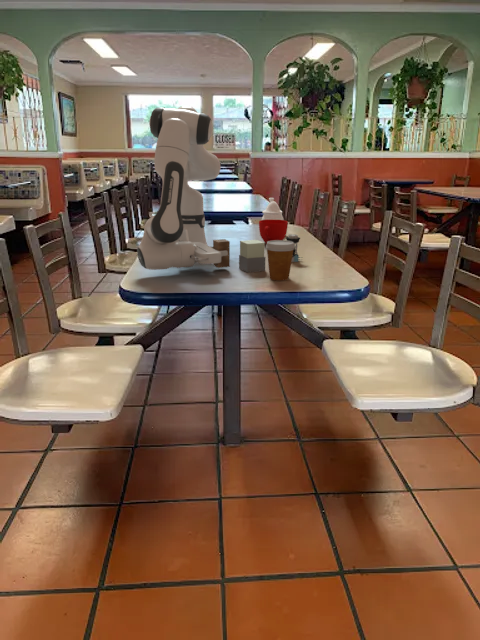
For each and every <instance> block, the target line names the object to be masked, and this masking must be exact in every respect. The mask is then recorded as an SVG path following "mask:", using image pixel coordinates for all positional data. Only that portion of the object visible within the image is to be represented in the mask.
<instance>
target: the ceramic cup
mask: <svg viewBox="0 0 480 640" xmlns="http://www.w3.org/2000/svg"><path fill="white" fill-rule="evenodd" d="M258 228H259V229H258V230H259V231H258V232H259V233H260V235H261V236H260V235H259V236H260V237H261V239H262V240H263V241H262V242H264V243H265V244H266V245H267V242H268V241H273V240H284V239H286V237H287V236H286V235H287V233H288V232H287V231H288V220H285V219H283V220H262V219H261V220H259V221H258Z"/></svg>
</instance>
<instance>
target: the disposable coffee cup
mask: <svg viewBox="0 0 480 640" xmlns="http://www.w3.org/2000/svg"><path fill="white" fill-rule="evenodd" d="M265 248H266V253H267V254H266V255H267V263H268V274H269V275H268V276H269V279H270V280H272V281H280V282H281V281H287V280H289V279H290V272H291V267H292V262H291V261H292V255H293V250H294V248H296V245H295V246H294V242H291V241H287V240H286V239H285V240H284V239H283V240H273V241H268V242H267V244H266V245H265Z"/></svg>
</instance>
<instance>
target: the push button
mask: <svg viewBox="0 0 480 640" xmlns="http://www.w3.org/2000/svg"><path fill="white" fill-rule="evenodd" d="M300 239H301V237H299V235H298V234H288V236H285V240H286V241H291V242H294V246H295V248H294V250H293V255H292V261H291V263H292V262H294V263H298V262H299V261H301V258H302V259H303V257H302V256H299V253H298V243H300Z"/></svg>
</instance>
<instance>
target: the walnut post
mask: <svg viewBox="0 0 480 640" xmlns="http://www.w3.org/2000/svg"><path fill="white" fill-rule="evenodd" d="M230 243H231V241H230V240H228V239H225V238H222V239H221V238H220V239H212V247H213V249H215V250H217V251H221V250H227V251H228V255H227V256H222V257H221V262H220V263H214V264H213V265H212V266H214V267H216V268H218V269H219V268H229V267H230V266H231V265H230V263H231V262H230V261H231V260H230V259H231V258H230V253H231V251H230V249H231V247H230V246H231V245H230Z"/></svg>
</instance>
